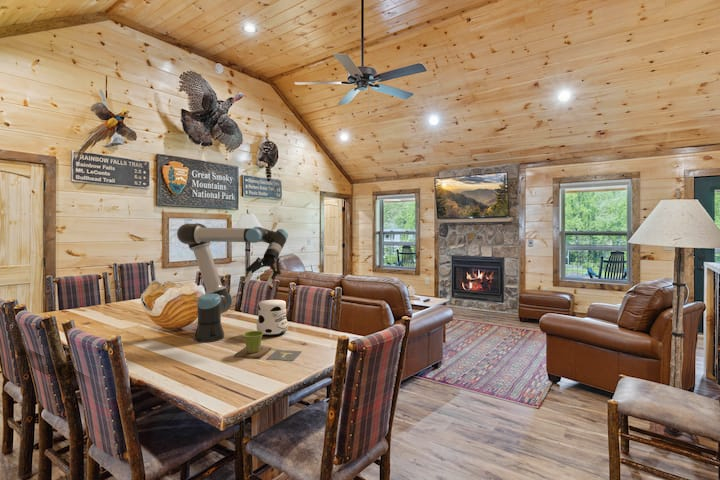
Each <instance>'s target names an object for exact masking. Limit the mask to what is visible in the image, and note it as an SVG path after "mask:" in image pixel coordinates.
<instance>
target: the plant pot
mask: <svg viewBox="0 0 720 480" xmlns="http://www.w3.org/2000/svg"><path fill="white" fill-rule="evenodd" d="M242 336H243V338H244V342H245V347H246V349H247V352H248V353H255V352H259V351H260V347H262V346H261V345H262V338H263V336H264V335H263V332H261V331H257V330H251V331H246V332H244V333H243V334H242Z"/></svg>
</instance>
